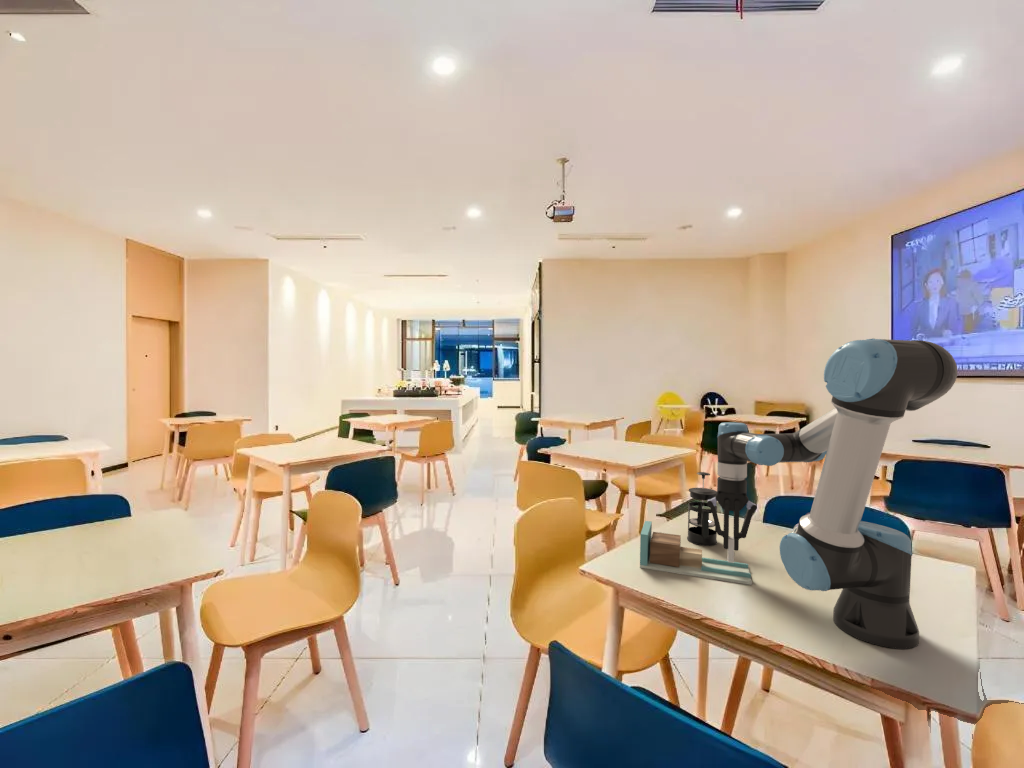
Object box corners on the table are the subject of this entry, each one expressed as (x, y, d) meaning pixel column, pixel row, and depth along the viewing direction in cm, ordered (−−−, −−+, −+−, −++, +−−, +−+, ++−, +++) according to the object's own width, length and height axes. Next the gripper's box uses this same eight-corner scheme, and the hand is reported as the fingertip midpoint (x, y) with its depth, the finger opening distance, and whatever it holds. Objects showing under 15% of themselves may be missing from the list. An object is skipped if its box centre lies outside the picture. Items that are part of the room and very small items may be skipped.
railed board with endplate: (751, 585, 127) (752, 548, 127) (639, 567, 137) (640, 534, 137) (747, 566, 139) (747, 533, 139) (644, 551, 149) (645, 520, 149)
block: (679, 567, 135) (679, 545, 135) (650, 562, 138) (650, 541, 138) (680, 555, 144) (680, 535, 144) (652, 551, 147) (653, 531, 146)
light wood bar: (701, 568, 135) (702, 554, 135) (657, 561, 140) (658, 548, 140) (701, 563, 139) (702, 549, 139) (658, 556, 143) (659, 543, 143)
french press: (685, 534, 166) (686, 468, 165) (713, 536, 164) (715, 470, 163) (689, 546, 154) (691, 476, 154) (720, 549, 152) (722, 477, 152)
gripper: (756, 476, 135) (754, 559, 135) (706, 473, 140) (705, 553, 140) (759, 482, 128) (758, 569, 128) (707, 478, 133) (706, 562, 133)
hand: (730, 560), depth 134 cm, fingers closed
